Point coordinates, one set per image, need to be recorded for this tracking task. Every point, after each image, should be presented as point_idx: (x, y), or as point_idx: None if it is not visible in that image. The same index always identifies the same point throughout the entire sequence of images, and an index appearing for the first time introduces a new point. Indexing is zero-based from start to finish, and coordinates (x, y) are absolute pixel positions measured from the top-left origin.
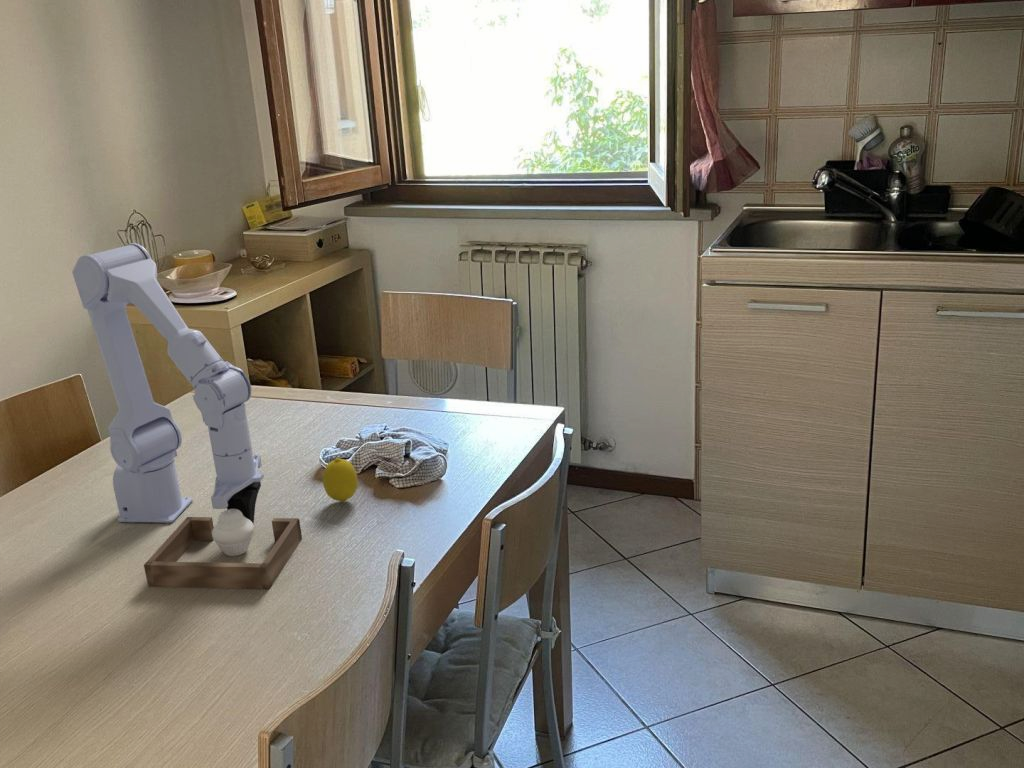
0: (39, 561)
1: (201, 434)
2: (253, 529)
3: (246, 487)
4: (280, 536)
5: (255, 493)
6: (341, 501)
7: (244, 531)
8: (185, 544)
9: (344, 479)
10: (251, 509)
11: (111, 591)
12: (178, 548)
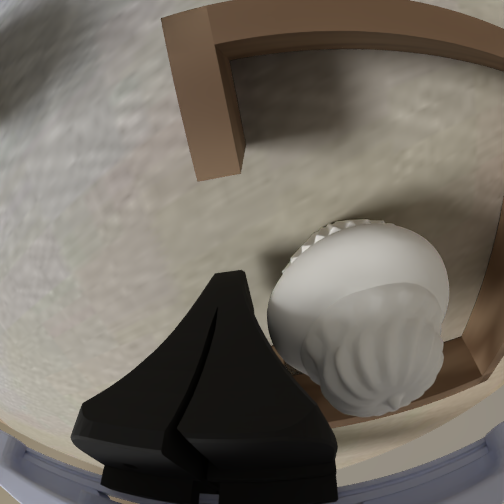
0: (357, 455)
1: (32, 423)
2: (353, 231)
3: (195, 474)
4: (414, 34)
5: (177, 405)
6: None
7: (421, 255)
8: None
9: None
10: (229, 333)
11: None
12: None
